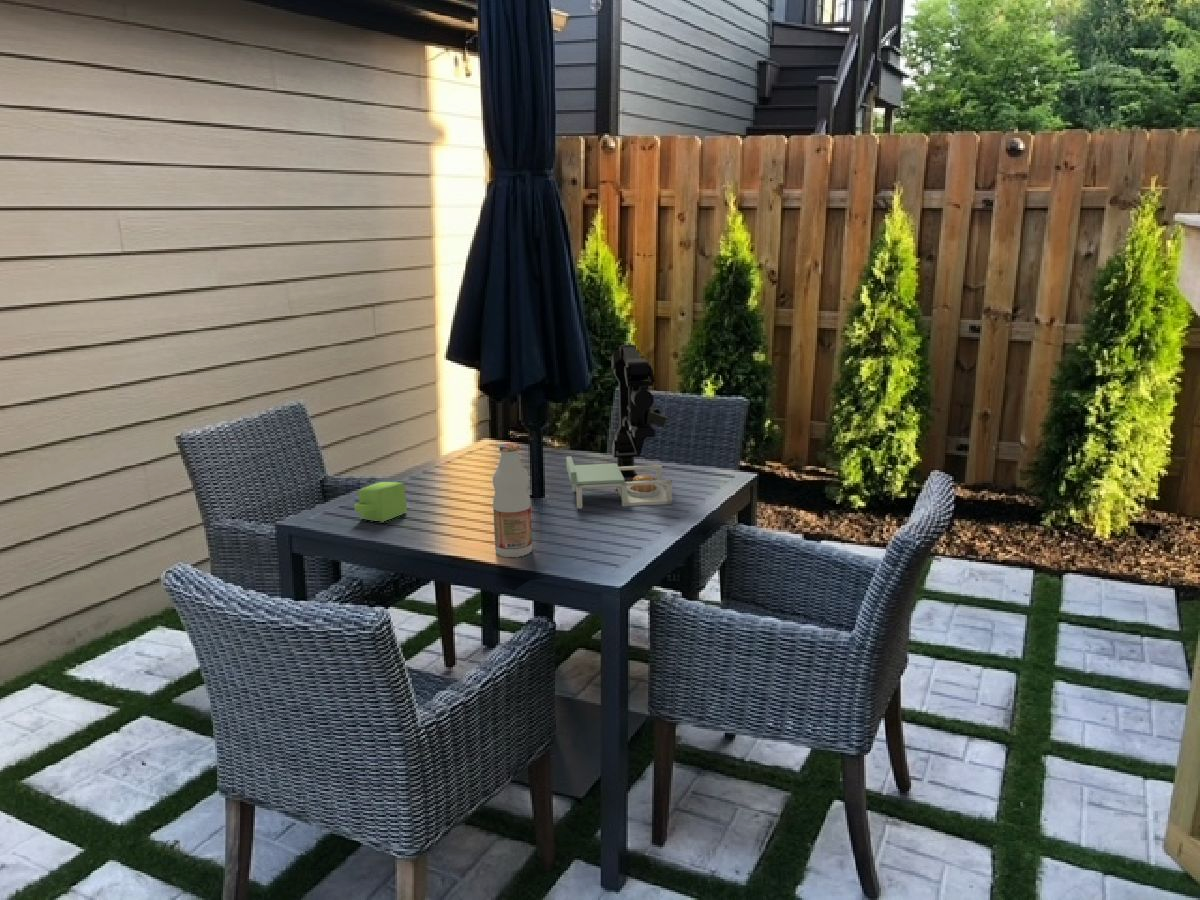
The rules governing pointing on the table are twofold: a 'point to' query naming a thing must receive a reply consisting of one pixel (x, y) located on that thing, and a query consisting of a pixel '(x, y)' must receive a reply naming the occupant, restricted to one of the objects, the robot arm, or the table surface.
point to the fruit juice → (511, 505)
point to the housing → (635, 497)
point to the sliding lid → (593, 473)
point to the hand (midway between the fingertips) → (638, 454)
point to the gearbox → (382, 501)
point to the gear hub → (643, 487)
